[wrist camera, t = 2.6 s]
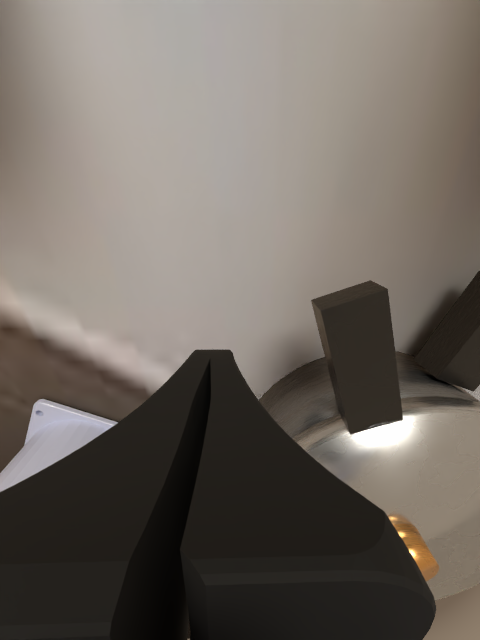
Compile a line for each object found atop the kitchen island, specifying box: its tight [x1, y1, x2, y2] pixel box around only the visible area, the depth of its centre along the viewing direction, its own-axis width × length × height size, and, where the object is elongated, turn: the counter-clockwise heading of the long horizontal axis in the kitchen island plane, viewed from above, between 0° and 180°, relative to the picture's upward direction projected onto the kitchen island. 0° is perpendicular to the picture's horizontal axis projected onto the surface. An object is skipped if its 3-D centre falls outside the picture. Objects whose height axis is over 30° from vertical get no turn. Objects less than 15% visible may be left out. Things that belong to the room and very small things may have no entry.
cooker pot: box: [259, 271, 480, 438], centre depth 18 cm, size 24×18×5 cm
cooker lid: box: [292, 280, 480, 601], centre depth 14 cm, size 25×18×3 cm
